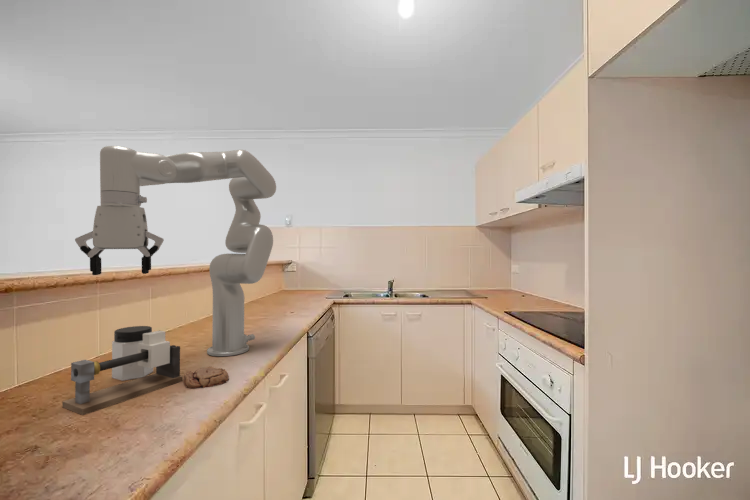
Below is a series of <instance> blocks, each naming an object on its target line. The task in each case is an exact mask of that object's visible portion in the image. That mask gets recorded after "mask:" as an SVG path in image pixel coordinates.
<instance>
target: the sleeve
mask: <svg viewBox="0 0 750 500" xmlns="http://www.w3.org/2000/svg"><path fill="white" fill-rule="evenodd" d="M170 346H171V342H170V341H168V340H166V330H165V331H164V330H156V331H155V330H154V331H152V332H150V333H144V334H143V343H138V353H142V352H146V351H148V359H145V360H141V361H138V365H139V366H143V367H148V368H153V369H154V368H156V367H158V366H161V365H165V364H168V363H170Z"/></svg>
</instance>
